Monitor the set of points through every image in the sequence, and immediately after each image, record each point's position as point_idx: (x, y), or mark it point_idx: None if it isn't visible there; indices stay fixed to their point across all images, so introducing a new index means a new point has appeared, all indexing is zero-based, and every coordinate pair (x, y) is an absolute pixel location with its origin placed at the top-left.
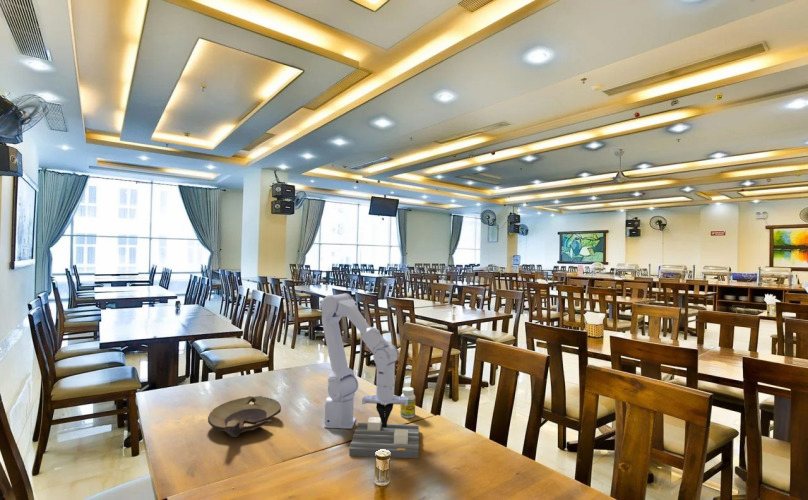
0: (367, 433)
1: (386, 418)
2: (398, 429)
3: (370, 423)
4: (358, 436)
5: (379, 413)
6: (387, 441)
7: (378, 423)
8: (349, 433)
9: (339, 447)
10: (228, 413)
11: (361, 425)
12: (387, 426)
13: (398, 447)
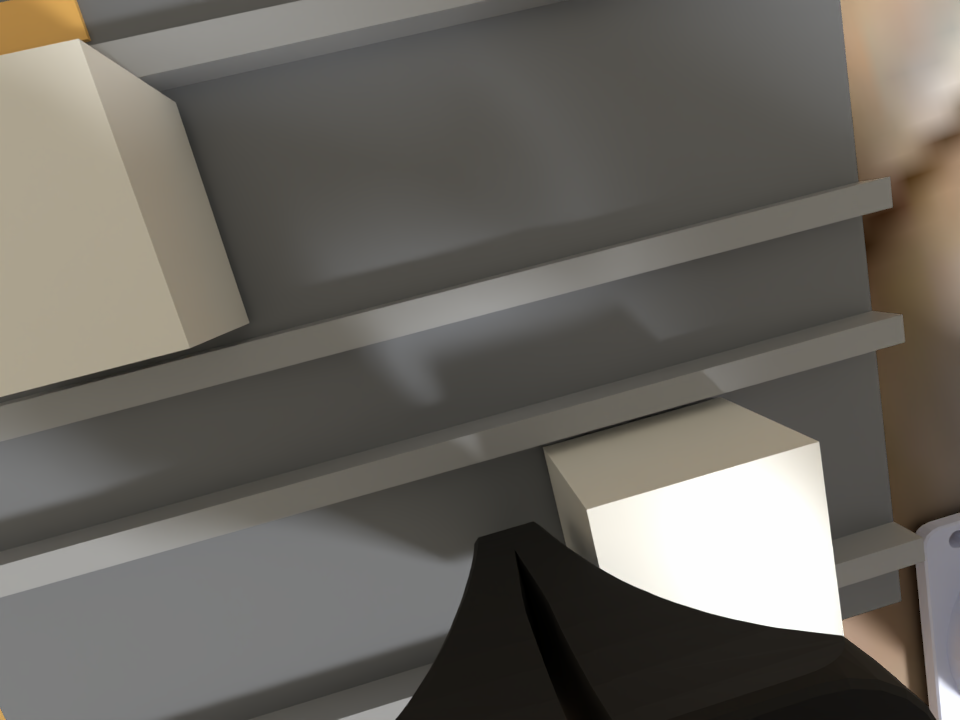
0: (704, 358)
1: (486, 617)
2: (102, 355)
3: (753, 451)
4: (800, 198)
5: (694, 621)
6: (338, 226)
7: (613, 495)
8: (905, 425)
9: (924, 55)
10: None
11: (848, 540)
12: None
13: None
